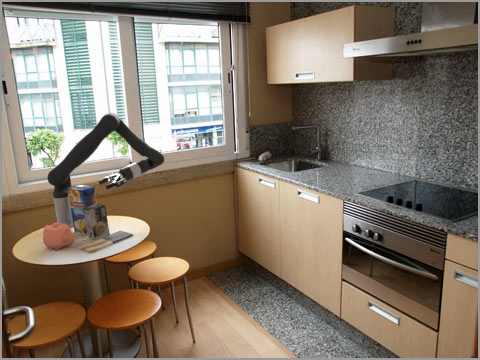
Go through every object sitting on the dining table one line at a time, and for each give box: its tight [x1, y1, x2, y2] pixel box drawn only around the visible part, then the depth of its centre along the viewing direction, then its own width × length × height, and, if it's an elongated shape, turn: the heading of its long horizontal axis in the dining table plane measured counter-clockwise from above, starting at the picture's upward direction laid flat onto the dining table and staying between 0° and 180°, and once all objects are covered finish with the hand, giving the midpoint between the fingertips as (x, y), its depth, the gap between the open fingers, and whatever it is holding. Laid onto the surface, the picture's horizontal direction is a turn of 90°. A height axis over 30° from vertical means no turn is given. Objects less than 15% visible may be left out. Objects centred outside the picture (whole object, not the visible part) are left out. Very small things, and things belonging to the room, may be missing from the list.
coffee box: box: [83, 202, 111, 241], centre depth 200 cm, size 9×6×16 cm
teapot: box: [42, 222, 75, 252], centre depth 189 cm, size 20×12×12 cm, turn 56°
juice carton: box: [67, 184, 98, 235], centre depth 208 cm, size 12×8×24 cm, turn 62°
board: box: [78, 230, 134, 254], centre depth 193 cm, size 10×24×1 cm, turn 144°
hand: (102, 185), depth 200 cm, fingers open, 8 cm apart
